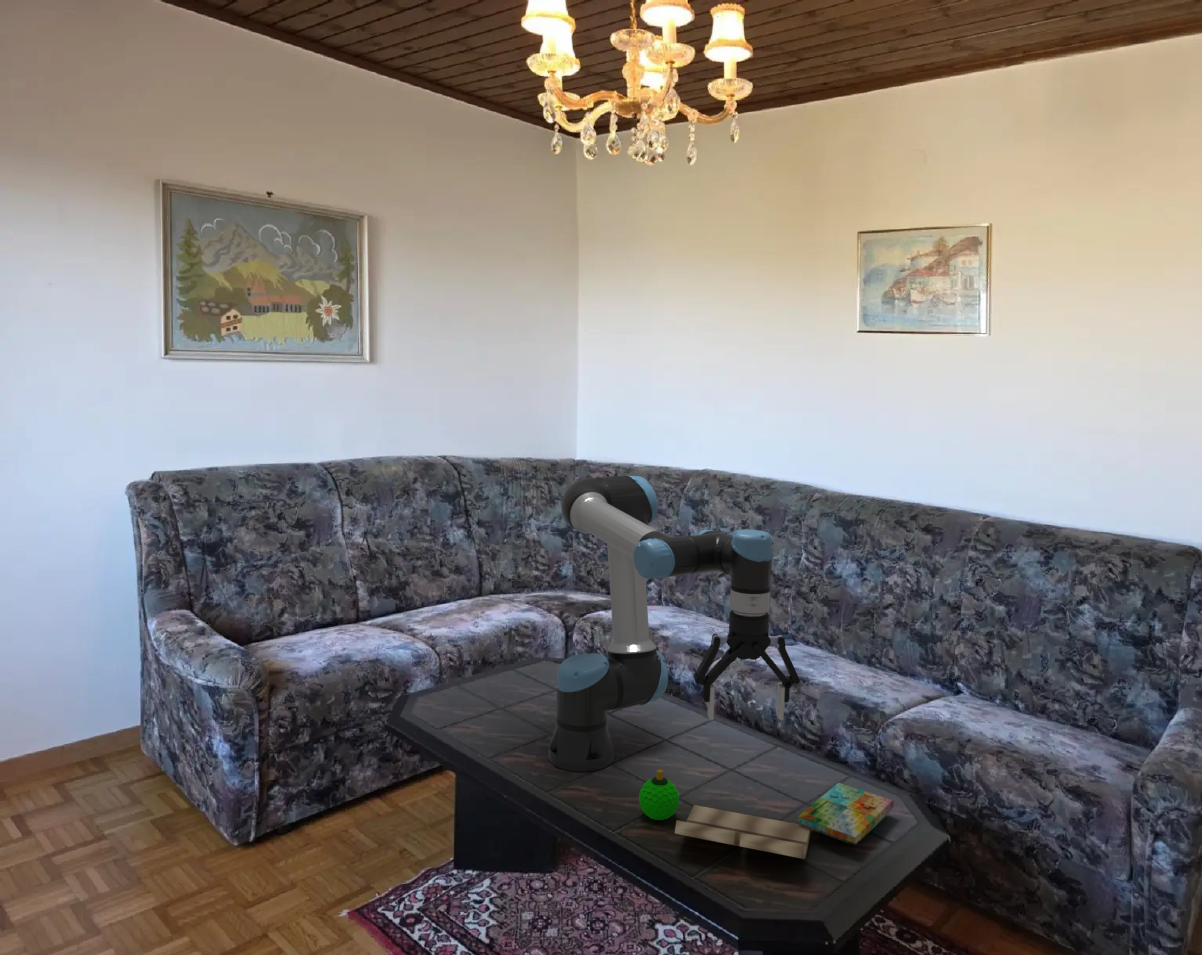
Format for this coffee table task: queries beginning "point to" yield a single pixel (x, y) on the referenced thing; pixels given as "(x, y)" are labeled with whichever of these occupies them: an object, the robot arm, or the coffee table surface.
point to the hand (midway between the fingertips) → (745, 717)
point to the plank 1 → (707, 833)
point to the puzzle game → (846, 813)
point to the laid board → (750, 825)
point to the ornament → (659, 797)
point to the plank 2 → (772, 845)
